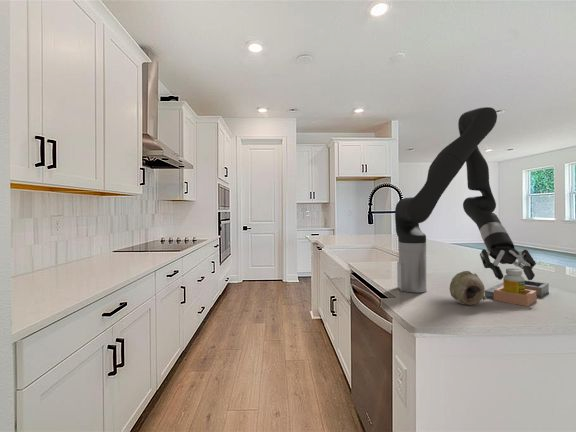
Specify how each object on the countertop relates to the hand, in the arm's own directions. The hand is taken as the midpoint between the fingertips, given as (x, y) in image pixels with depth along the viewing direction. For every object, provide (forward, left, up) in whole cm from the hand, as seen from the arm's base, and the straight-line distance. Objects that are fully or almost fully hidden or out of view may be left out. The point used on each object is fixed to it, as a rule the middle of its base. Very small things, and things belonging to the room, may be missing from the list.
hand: (516, 278), depth 91 cm
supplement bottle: (0, +1, -7) cm, 7 cm away
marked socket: (0, +1, -7) cm, 7 cm away
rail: (+5, +7, -7) cm, 11 cm away
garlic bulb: (-16, -4, -7) cm, 18 cm away
